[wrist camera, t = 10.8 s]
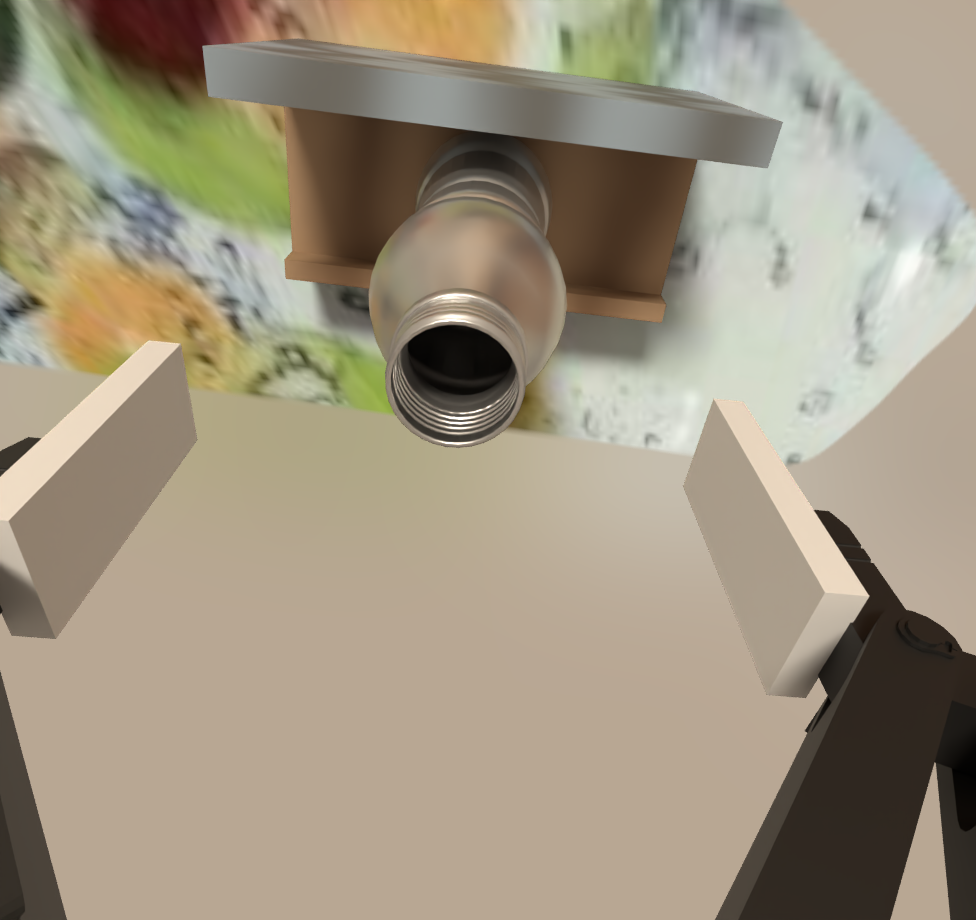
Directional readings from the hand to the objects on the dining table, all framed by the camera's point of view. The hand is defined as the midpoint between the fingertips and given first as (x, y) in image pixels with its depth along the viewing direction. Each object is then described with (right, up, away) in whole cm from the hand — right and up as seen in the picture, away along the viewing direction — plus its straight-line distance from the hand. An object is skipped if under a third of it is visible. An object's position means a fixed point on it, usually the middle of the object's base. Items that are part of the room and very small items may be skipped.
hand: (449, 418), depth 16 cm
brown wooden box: (+1, +14, +19) cm, 23 cm away
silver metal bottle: (+1, +12, +16) cm, 21 cm away
